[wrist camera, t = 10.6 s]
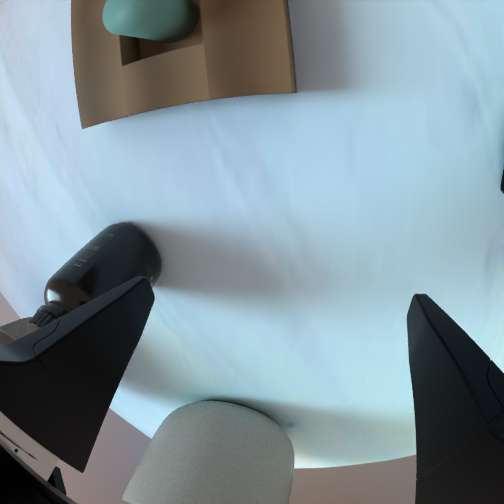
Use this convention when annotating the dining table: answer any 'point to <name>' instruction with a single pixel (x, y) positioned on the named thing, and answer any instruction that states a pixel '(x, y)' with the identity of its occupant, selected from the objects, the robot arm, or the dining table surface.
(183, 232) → the dining table surface
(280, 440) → the planter
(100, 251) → the supplement bottle
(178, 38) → the pin
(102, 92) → the bore block
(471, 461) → the robot arm
